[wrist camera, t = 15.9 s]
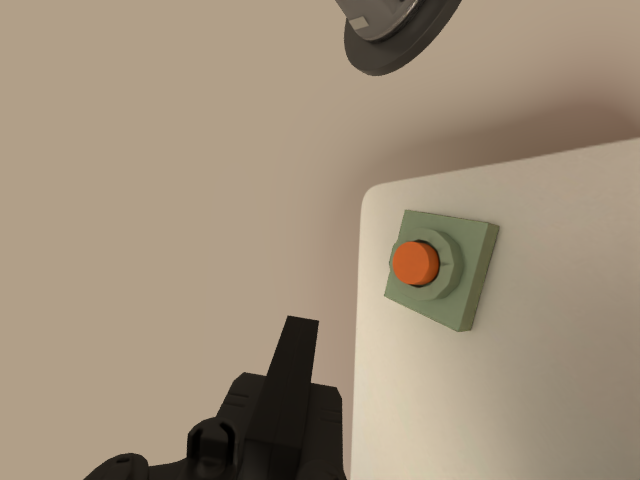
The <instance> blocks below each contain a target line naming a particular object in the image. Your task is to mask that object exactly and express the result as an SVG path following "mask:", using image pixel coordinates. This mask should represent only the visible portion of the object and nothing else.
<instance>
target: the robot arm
mask: <svg viewBox="0 0 640 480" xmlns="http://www.w3.org/2000/svg"><path fill="white" fill-rule="evenodd" d="M335 1H336V2H337V3H338V5H339V6H340V8H341V9H342V11H343V12H344V14H345V15H346V17H347V18H348V20H349V23H350V24H351V26H352V27H353V29H354V31H355V32H356V34H357V35H358V36H359V37H361V38H362V39H364V40H365V41H366V42H368V43H371V44H378V43H382V42H384V41H386V40H388V39H390V38H391V37H393V36H394V35H396V34H397V33H398V32H399V31H401V30H402V29H403V28H404V27H405V26H406V25H407V24H408V23H409V22H410V20H411V19H412V18H413V17H414V16H415V14H416V13H417V12H418V10H419V9H420V8H421V6H422V5H423V3H424V2H425V0H335ZM318 325H319V321H317V320H312V319H305V318H300V317H294V316H287V319H286V322H285V325H284V328H283V331H282V333H281V336H280V339H279V342H278V345H277V347H276V350H275V353H274V356H273V359H272V362H271V364H270V367H269V370H268V373H267V376H263V375H257V374H251V373H246V372H244V373H242V374H241V375H240V376H239V377H238V378H236V380H234V382H233V383H232V385H231V387H230V389H229V391H228V394H227V395H226V397H225V399H224V401H223V404H222V405H221V407H220V410H219V411H218V413H217V415H216V417H213V418H209V419H206V420H203V421H201V422H200V423H198V424H197V425H195V426H194V427H193V428H192V430H191V431H190V432H189V433H188V439H187V458H185V459H182V460H180V461H178V462H173V463H169V464H163V465H156V466H148V462H147V460H146V459H145V458H144V457H143V456H142V455H139V454H134V453H128V454H120V455H118V456H115V457H113V458H110V459H108V460H107V461H105V462H104V463H102V464H101V465H100V466H98V467H97V468H96V469H94V470H93V471H92V472H91V473H90V474H89V475H88V476H87V477H86V478H85V479H84V480H347V479H346V476H345V473H344V470H343V448H342V447H343V444H342V441H343V440H342V398H341V396H340V394H339V392H338V390H337V388H336V387H331V386H325V385H320V384H314V383H311V376H312V369H313V362H314V354H315V347H316V340H317V332H318Z"/></svg>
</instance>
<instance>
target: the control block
mask: <svg viewBox="0 0 640 480" xmlns="http://www.w3.org/2000/svg"><path fill="white" fill-rule="evenodd" d="M498 229H499V226H497V225H494V224H490V223H486V222H480V221H474V220H467V219H461V218H455V217H448V216H442V215H436V214H430V213H423V212H417V211H411V210H405V212H404V216H403V220H402V224H401V228H400V232H399V236H398V240H397V242H396V243H395V244H394V246H393V248H392V252H391V256H390V261H389V266H390V273H389V277H388V281H387V286H386V290H385V294H384V296H385V297H387V298H389V299H391V300H393V301H395V302H397V303H399V304H401V305H403V306H405V307H407V308H409V309H412V310H414V311H416V312H418V313H420V314H422V315H424V316H426V317H428V318H430V319H432V320H434V321H436V322H438V323H440V324H443V325H445V326H447V327H449V328H451V329H453V330H455V331H457V332H463V331H469V330H470V329H471V326H472V322H473V319H474V315H475V312H476V308H477V304H478V301H479V297H480V294H481V290H482V287H483V283H484V279H485V276H486V272H487V269H488V265H489V261H490V258H491V254H492V251H493V247H494V244H495V240H496V236H497V233H498ZM410 241H412V242H419V243H424V244H428V245H430V246H431V247H432V248H433V249H434V250H435V251H436V253H437V255H438V258H439V269H438V272H437V275H436V276H435V278H434V279H433V280H432V281H430V282H429V283H427V284H423V285H414V284H406V283H403V282H402V281H400V280H399V279H398V278H397V276H396V275H395V273H394V270H393V257H394V254H395V252H396V250H397V249H398V247H399V246H401V245H402V244H404V243H406V242H410Z"/></svg>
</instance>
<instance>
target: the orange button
mask: <svg viewBox="0 0 640 480" xmlns="http://www.w3.org/2000/svg"><path fill="white" fill-rule="evenodd" d="M438 269H439V258H438V255H437V253H436V251H435V250H434V249H433V248H432V247H431V246H430V245H428V244H424V243H419V242H412V241H410V242H406V243H404V244H402V245H401V246H399V247H398V249H397V250H396V252H395V254H394V257H393V270H394V273H395V275H396V276H397V278H398V279H399V280H400V281H402V282H403V283H406V284H414V285H423V284H427V283H429V282H430V281H432V280H433V279H434V278H435V276H436V275H437V272H438Z"/></svg>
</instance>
